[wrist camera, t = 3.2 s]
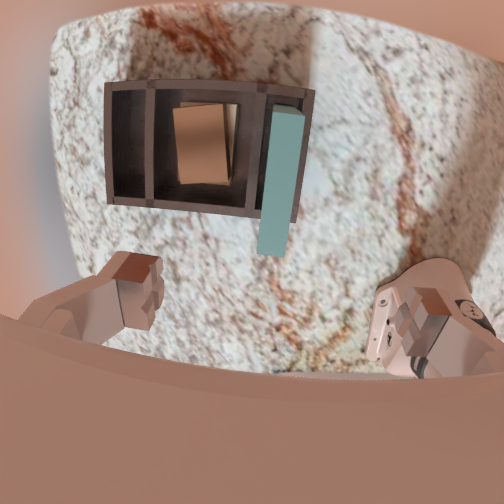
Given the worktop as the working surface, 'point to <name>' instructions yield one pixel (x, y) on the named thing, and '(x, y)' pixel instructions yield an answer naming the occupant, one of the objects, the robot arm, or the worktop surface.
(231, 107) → the birch offcut
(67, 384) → the robot arm
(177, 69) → the worktop surface
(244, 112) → the rack
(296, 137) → the teal panel
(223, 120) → the walnut offcut
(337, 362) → the worktop surface
